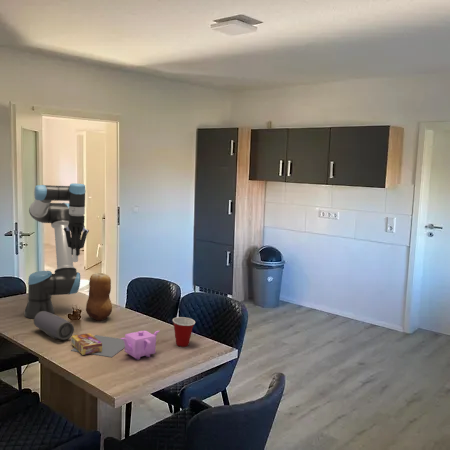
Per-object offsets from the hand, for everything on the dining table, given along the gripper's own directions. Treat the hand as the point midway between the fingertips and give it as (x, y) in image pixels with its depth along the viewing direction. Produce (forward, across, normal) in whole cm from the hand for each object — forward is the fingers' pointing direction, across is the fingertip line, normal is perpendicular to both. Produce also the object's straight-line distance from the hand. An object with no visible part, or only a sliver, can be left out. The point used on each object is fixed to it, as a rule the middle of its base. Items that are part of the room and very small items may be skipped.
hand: (75, 261), depth 249 cm
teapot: (+33, +47, -24) cm, 62 cm away
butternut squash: (+34, +6, +14) cm, 37 cm away
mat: (+33, +27, -20) cm, 47 cm away
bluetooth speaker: (+33, -1, -17) cm, 37 cm away
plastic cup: (+33, +60, -4) cm, 69 cm away
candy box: (+31, +16, -20) cm, 40 cm away
